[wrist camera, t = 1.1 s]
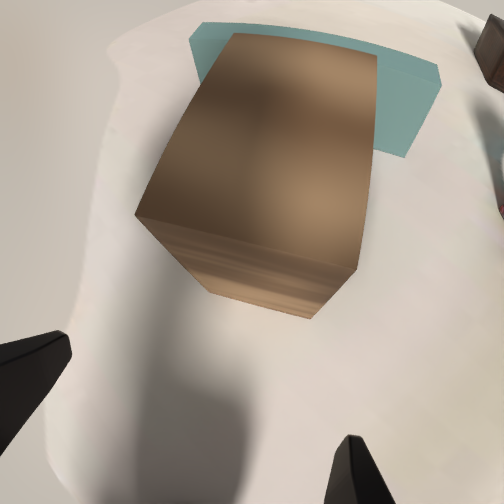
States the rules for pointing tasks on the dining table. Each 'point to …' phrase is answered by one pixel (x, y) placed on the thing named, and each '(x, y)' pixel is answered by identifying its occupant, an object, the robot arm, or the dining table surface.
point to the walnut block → (270, 173)
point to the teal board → (388, 77)
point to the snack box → (502, 210)
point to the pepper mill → (492, 52)
